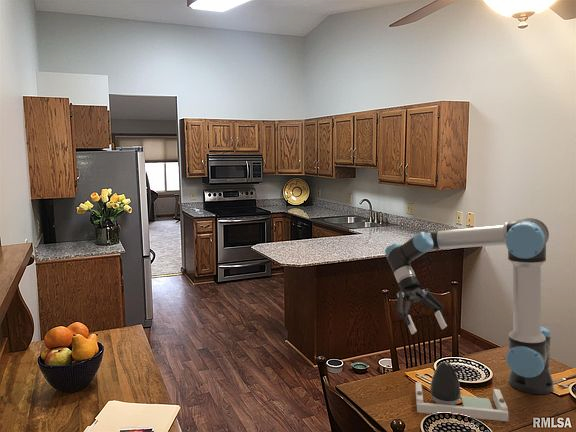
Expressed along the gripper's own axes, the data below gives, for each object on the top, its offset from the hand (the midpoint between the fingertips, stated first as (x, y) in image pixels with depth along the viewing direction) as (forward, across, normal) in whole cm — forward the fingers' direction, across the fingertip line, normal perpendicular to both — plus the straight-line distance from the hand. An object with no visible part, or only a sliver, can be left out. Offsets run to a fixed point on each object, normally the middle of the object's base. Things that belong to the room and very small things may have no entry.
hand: (429, 330), depth 170 cm
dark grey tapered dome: (+24, 0, -9) cm, 26 cm away
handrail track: (+26, -4, -7) cm, 27 cm away
